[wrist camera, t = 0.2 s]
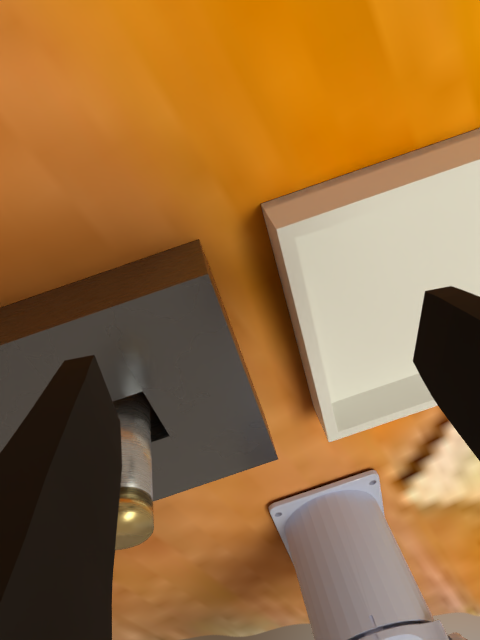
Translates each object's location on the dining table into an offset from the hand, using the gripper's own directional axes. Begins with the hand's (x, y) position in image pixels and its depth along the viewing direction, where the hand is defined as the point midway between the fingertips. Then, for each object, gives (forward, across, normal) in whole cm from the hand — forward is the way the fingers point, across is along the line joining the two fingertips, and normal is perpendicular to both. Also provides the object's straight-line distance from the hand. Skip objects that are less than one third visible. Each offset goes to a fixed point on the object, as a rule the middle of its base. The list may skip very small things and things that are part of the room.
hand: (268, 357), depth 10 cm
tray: (+10, -10, +6) cm, 15 cm away
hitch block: (+10, +6, +9) cm, 14 cm away
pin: (+10, +6, +9) cm, 14 cm away
